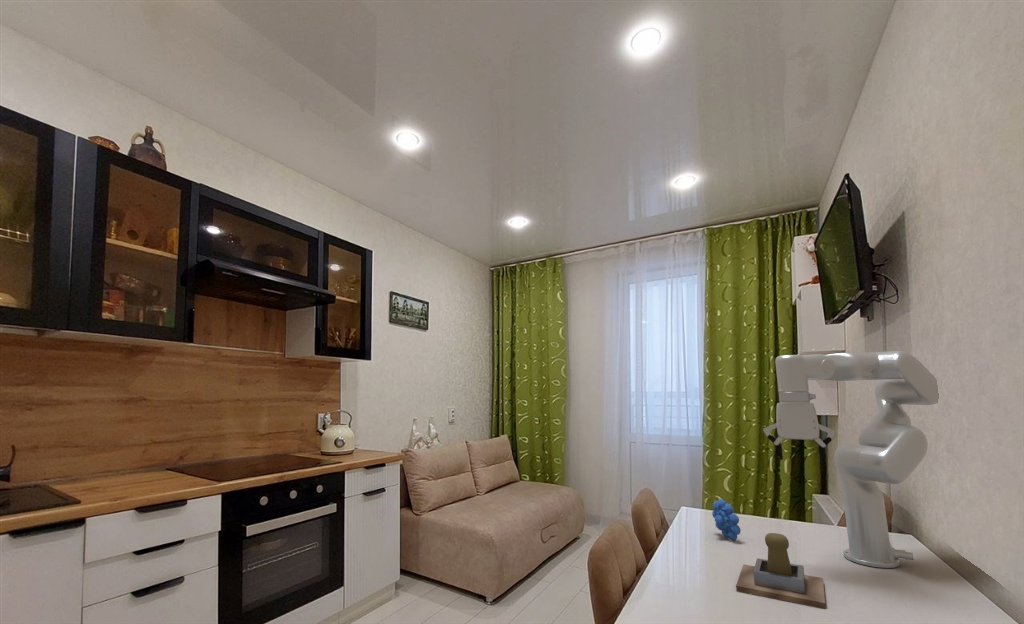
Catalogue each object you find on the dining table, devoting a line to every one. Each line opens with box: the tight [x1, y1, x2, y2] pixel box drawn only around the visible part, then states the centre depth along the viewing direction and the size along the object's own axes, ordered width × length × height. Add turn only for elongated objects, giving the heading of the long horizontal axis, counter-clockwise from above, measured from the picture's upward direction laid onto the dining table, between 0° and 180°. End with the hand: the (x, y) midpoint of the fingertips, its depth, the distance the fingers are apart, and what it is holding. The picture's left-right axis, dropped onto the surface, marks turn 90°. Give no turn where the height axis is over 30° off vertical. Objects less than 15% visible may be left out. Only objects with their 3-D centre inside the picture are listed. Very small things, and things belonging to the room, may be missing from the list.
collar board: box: [735, 563, 826, 610], centre depth 114 cm, size 18×16×1 cm
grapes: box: [711, 498, 741, 541], centre depth 151 cm, size 12×7×12 cm, turn 16°
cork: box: [764, 532, 793, 577], centre depth 115 cm, size 6×6×11 cm
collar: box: [753, 558, 806, 594], centre depth 114 cm, size 10×10×3 cm
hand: (801, 460), depth 129 cm, fingers open, 9 cm apart
